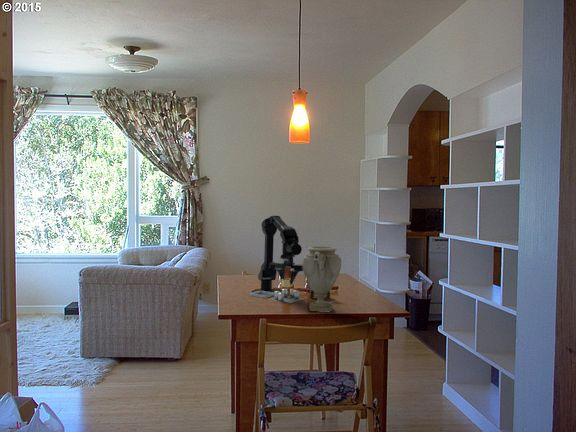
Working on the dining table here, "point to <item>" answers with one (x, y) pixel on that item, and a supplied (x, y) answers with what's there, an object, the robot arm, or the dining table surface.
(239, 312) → the dining table surface
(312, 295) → the ammunition clip
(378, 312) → the dining table surface
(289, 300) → the spacer board
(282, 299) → the spacer posts
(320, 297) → the urn
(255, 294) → the tray
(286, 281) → the brass nut
